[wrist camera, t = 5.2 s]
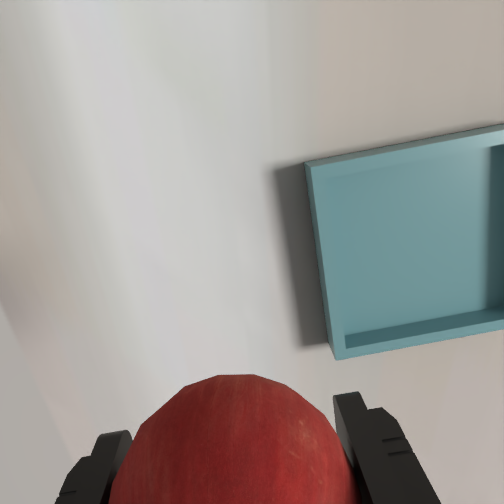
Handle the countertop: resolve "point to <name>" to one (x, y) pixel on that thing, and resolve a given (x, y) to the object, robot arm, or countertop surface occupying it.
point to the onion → (236, 449)
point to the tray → (410, 241)
